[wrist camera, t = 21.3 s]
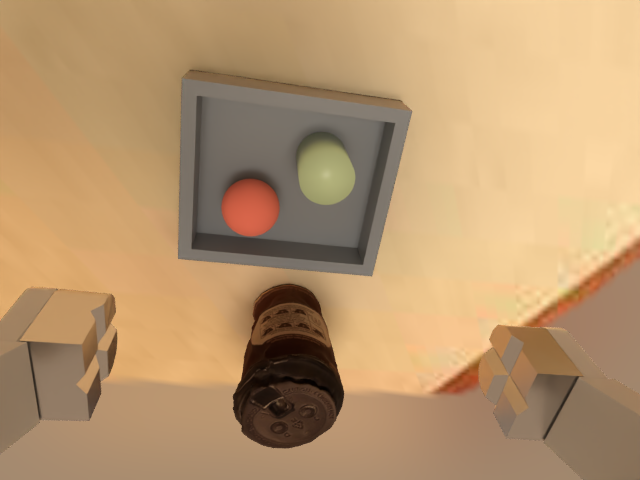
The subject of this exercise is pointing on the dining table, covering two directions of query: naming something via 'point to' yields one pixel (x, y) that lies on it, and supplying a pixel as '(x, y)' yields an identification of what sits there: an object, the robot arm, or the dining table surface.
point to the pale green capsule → (324, 169)
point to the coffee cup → (288, 372)
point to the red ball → (250, 207)
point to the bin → (284, 171)
